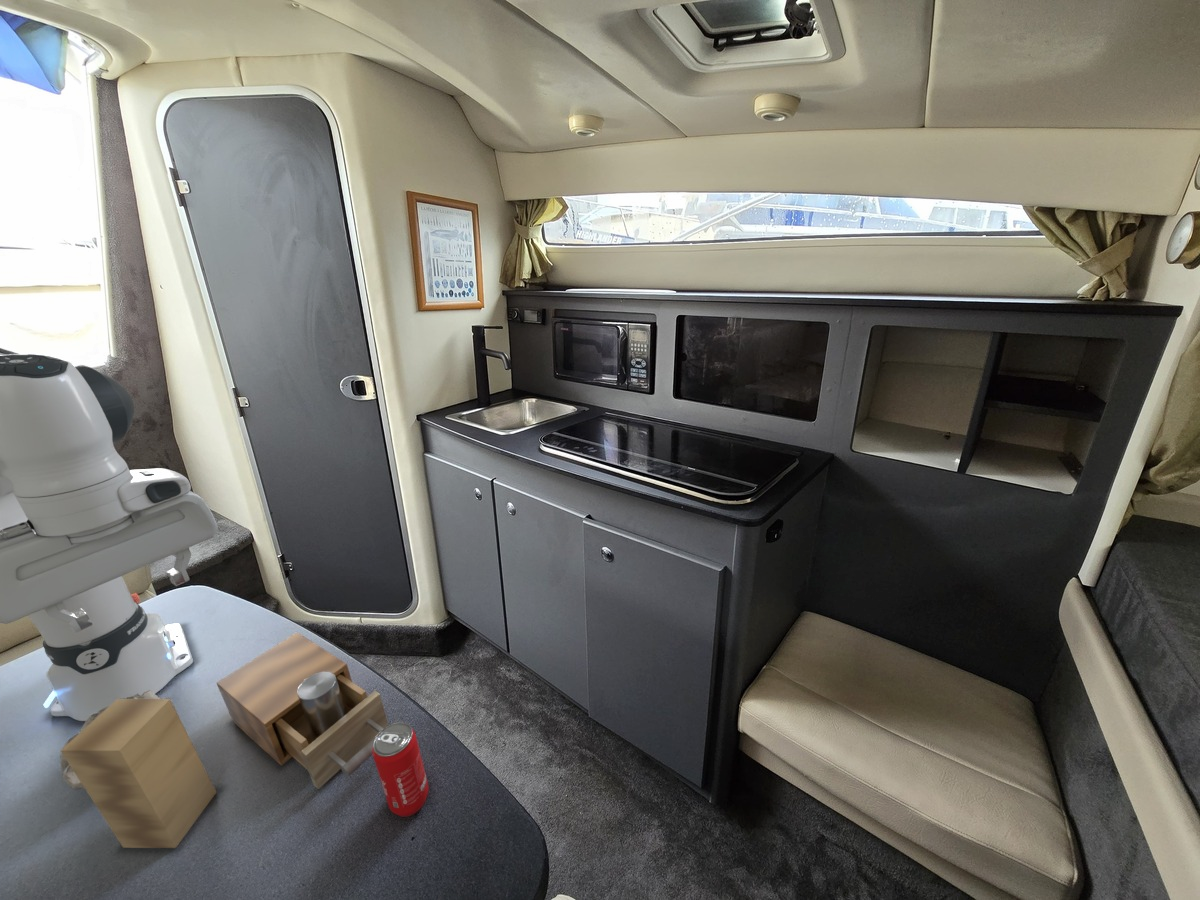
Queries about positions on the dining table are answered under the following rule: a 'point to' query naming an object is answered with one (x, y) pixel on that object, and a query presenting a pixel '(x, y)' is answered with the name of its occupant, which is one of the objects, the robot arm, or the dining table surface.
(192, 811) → the wooden block
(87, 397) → the robot arm
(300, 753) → the drawer
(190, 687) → the dining table surface
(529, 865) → the dining table surface
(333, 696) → the tin
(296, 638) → the cabinet
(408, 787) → the beverage can
